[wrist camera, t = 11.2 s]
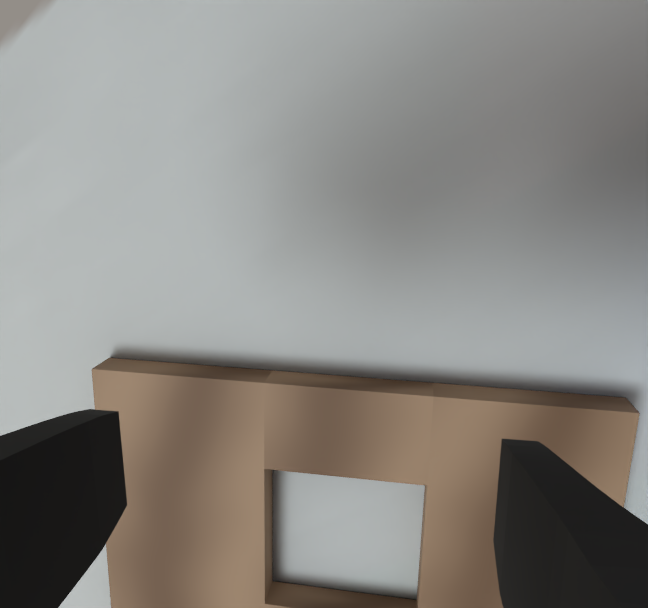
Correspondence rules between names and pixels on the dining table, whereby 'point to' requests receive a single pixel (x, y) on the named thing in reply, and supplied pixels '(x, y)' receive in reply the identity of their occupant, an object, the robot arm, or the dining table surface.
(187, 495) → the walnut pocket board
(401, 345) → the dining table surface
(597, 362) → the dining table surface
